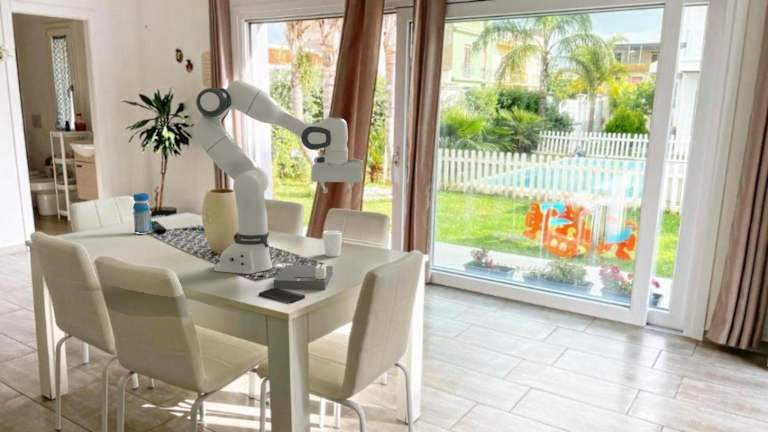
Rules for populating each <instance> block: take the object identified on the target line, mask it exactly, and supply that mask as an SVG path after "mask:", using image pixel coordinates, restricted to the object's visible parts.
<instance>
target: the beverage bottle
mask: <svg viewBox="0 0 768 432" xmlns="http://www.w3.org/2000/svg"><path fill="white" fill-rule="evenodd" d="M149 197H150V196H149V194H148V193H143V192H141V193H140V192H139V193H134V194H133V201H134V204H133V207H132V210H133V212H132V215H133V222H134V223H133V224H134V233H135V232H139V233H145V232H149V231H151V230H152V231H153V226H152V209H151V208H152V207H151V204H150V203H149V202H148V201H149V200H150V199H149Z"/></svg>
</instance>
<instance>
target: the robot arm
mask: <svg viewBox="0 0 768 432" xmlns="http://www.w3.org/2000/svg"><path fill="white" fill-rule="evenodd" d="M195 103H196V108H197V109H198V111H199V113H200V114H201V115H200V118H199V119H198V120H197V121H196V122H195V123H194V125H193V127H192V133H193V135H194V137H195V139H196V140H197V142H198V144H199V145H200V147H201V148H202V150H203V151H204V152H205V153H206V154H207V155H208V156H209V158H210V159H211V160H212V161H213V162H214V163H215V165H216V166H217V167H218V168H219V169H220V170H221V171H223V172H224V173H225V174H226V175H228V176H229V177H230V178H231V179H232V180H233V183H232V184H233V185H232V188H233V191H234V197H235V204H236V208H237V209H236V210H237V219H238V223H237V225H238V231H237V232H235V234H234V235H233V237H232V238H233V241H234V242H233V243H231V244H230V246H228V247H226V248H225V249H224V250H223V251H222V252H221V254H220V256H219V262H217V263H216V264H215V265H214V267H213V271H215V272H218V273H219V272H221V273H233V274H247V275H249V274H250V275H251V274H255V273H259V272H263V271H264V272H265V271H269V270H271V269H272V268H273V266H274V265H273V263H272V258H271V255H270V254H271V253H270V248H269V247H270V233H269V231H268V229H269V228H268V211H267V206H266V200H265V199H266V198H265V191H267V189H268V187H269V181H270V180H269V176H268V174H267V173H266V172H265V171H264V170H263V169H262V168H261V167H260V166H259V164H258V163H256V162H255V161H254V160H253V159H252V158H251V157H250V156H249V155H248V154H247V153H246V152H245V151H244V150H243V149H242V148H241V147H240V145H239V144H238V143H237V142H236V140H235V139H234V137H232V136H231V135H230V133H229V132H228V131H227V130H226V129H225V127H224V126H223V124H222V123H223V121H224V120H225V119H226V117H228V114H229V113H230V110H237V111H238V112H241V113H242V114H244V115H246V117H248V118H251V119H253V120H255V121H258V122H261V123H265V124H270V125H271V124H272V125H276V126H279V127H282V128H283V129H285V130H287V131H289V132H290V133H292V134H294V135H296V136H297V137H299V138H300V139H301V143H302V144H303V146H304V147H305V148H306V149H308V150H312V151H317V150H321V149H325V153H324V154H321V155H318V156H316V157H314V159H313V162H314V164H313V165H312V166H311V173H310V174H311V175H310V178H311V181H312V182H315V183H319V184H320V186H321V188H322V194H328V190H329V188H327V187H325V183H327V182H328V183H349V186H350V187H348V188H347V189H346V194H352V188H353V187H354V184H355V183H361V182H362V181H363V178H364V177H363V168H364V162H363V160H362V159H360V158H349V149H348V141H349V132H348V131H349V130H348V124H347V121H346V120H345V119H344V118H342V117H338V116H331V115H329V116H327V117H325V118H324V119H323V120H320V121H319V122H317V123H309V122H306V121H305V120H302V119H301V118H299V117H297V116H295V115H294V114H292V113H290V112H289V111H287V110H286V109H285V108H284V107H282V105H280V104H279V102H277V100H275V99H274V98H273V96H271V95H269V94H268V93H267V92H265V91H263V90H261V89H260V88H258V87H256V86H254V85H253V84H249V83H247V82H245V81H242V80H239V79H237V80H234V81H232V82H230V83H229V84H228V86H227V87H226V88H224V87H221V88H220V87H219V88H218V87H217V88H216V87H208V88H205V89H203V90H201V91H200V92H199V93H198V94H197V97H196V101H195Z"/></svg>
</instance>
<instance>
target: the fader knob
mask: <svg viewBox="0 0 768 432" xmlns="http://www.w3.org/2000/svg"><path fill="white" fill-rule="evenodd" d="M316 266H317V267H316V279H325V277H326V266H327V264H321V263H317V265H316Z"/></svg>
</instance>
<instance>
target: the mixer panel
mask: <svg viewBox="0 0 768 432" xmlns="http://www.w3.org/2000/svg"><path fill="white" fill-rule="evenodd" d="M316 267H317V265H301V264H300V265H299V264H298V265H297V264H294V265H293V264H291V265H290V264H285V266H284V267H283V268H282V270H281V271H280V272H279V273H278V275H276V277H275V278H274V279H273V288H276V289H280V290H287V289H288V290H321V291H322V290H326V289H327V286H328V284H329V282H330V280H331V278H332V276H333V274H334V269H333V268H334V266H333V265H326V277H325V279H316Z"/></svg>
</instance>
